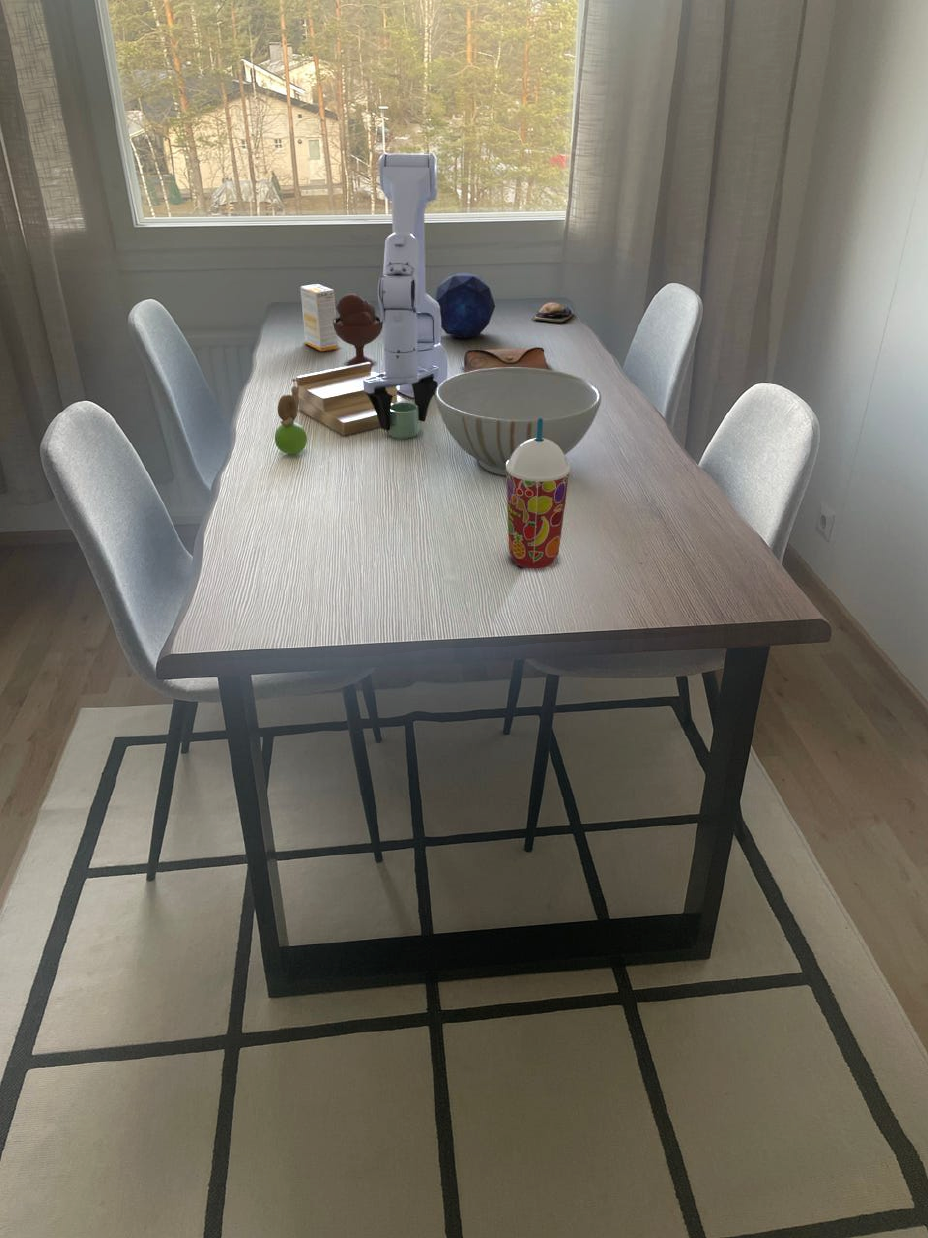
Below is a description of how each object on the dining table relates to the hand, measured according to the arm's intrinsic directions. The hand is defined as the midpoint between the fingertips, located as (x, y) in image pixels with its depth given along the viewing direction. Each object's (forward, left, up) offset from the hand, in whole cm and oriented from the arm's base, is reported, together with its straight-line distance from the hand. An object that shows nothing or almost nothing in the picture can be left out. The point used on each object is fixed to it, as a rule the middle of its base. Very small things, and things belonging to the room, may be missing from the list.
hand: (403, 424), depth 165 cm
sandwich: (-77, -46, -2) cm, 89 cm away
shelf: (+1, -14, -2) cm, 14 cm away
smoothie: (+12, +50, -2) cm, 51 cm away
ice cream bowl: (-16, -41, -2) cm, 44 cm away
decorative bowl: (-8, +22, -2) cm, 24 cm away
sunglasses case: (-39, -18, -2) cm, 43 cm away
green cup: (0, 0, -2) cm, 2 cm away
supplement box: (-16, -58, -2) cm, 60 cm away
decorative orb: (-48, -46, -2) cm, 67 cm away
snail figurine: (+20, -4, -2) cm, 21 cm away
